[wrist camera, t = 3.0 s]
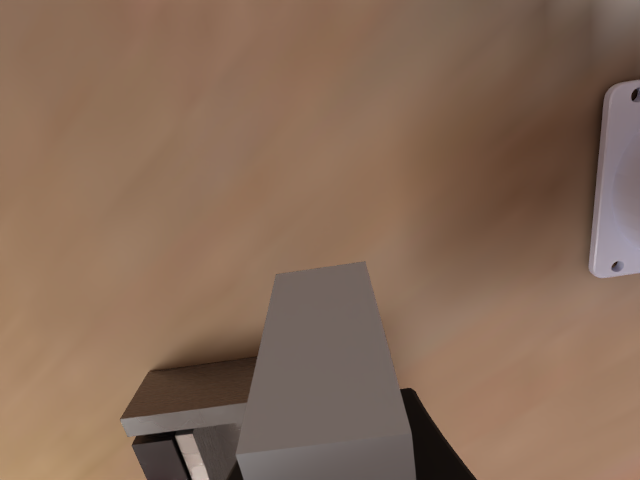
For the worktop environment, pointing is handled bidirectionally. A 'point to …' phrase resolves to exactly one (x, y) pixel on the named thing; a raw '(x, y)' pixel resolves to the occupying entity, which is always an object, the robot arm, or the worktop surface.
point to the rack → (190, 420)
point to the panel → (325, 385)
